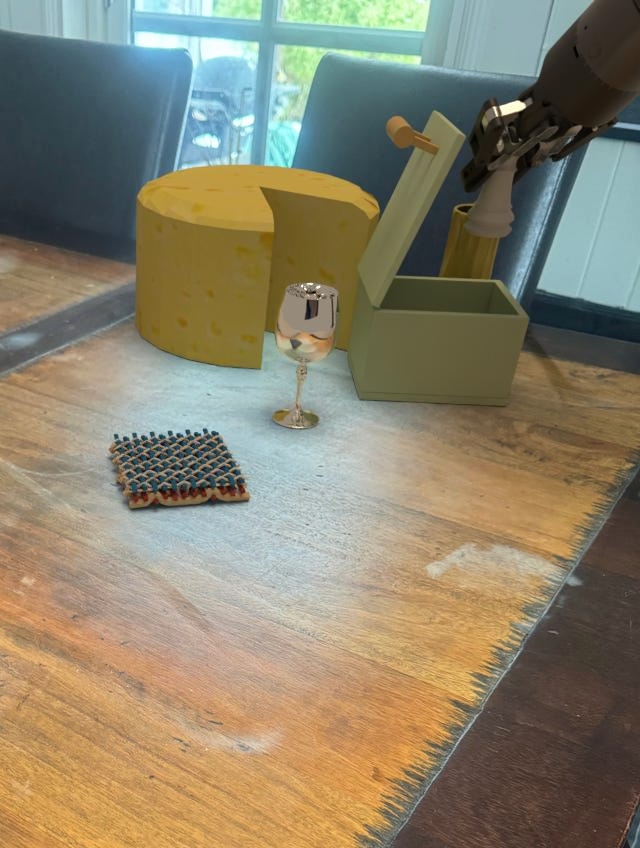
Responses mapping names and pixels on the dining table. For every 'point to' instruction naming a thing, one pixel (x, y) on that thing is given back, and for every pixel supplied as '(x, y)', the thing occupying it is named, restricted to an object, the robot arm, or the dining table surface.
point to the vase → (467, 250)
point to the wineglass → (305, 339)
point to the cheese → (242, 254)
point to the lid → (408, 198)
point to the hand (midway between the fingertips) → (483, 182)
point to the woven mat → (177, 469)
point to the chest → (437, 341)
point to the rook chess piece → (494, 203)
